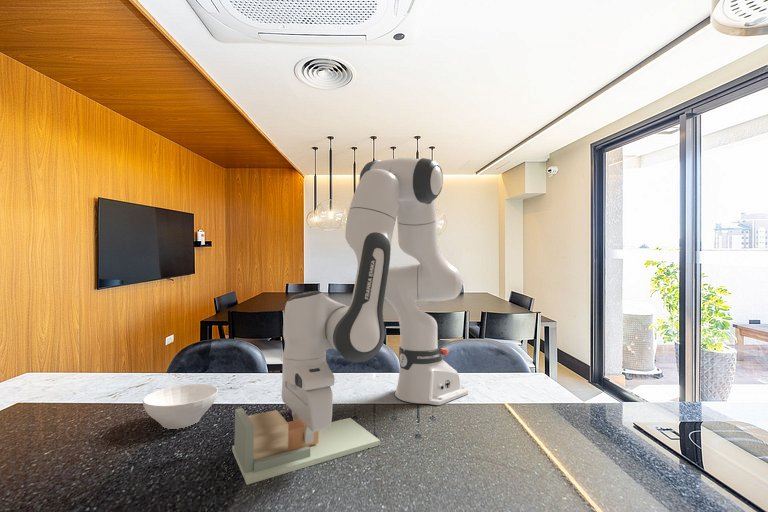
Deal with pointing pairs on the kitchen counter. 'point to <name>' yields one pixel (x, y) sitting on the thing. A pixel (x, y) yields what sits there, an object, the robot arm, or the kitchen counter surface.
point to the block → (269, 434)
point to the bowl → (180, 404)
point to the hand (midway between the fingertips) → (303, 436)
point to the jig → (331, 445)
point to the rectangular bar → (298, 435)
